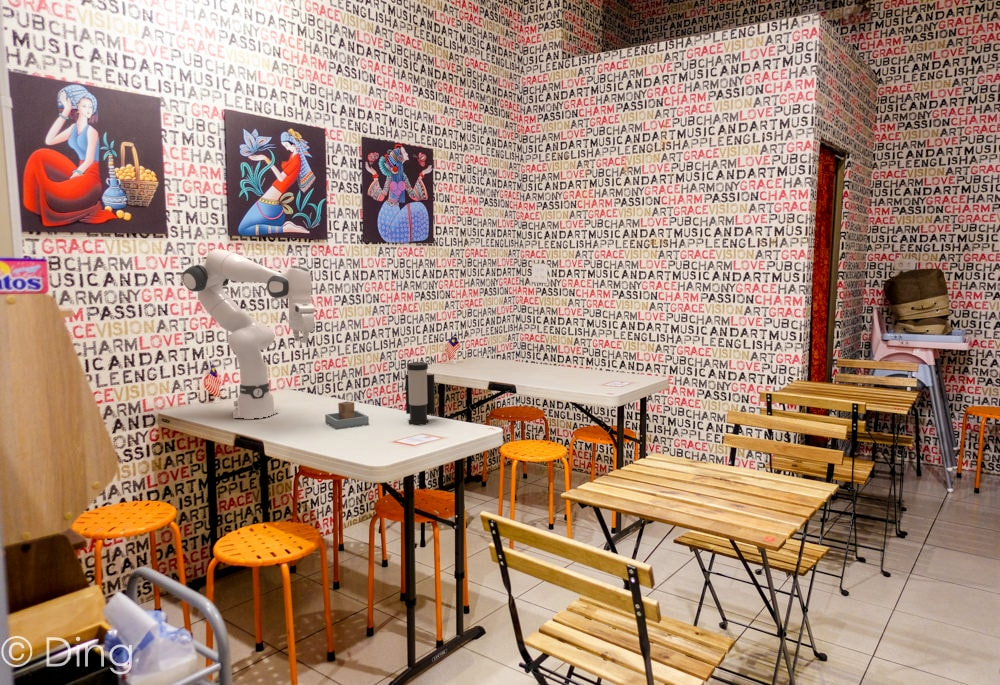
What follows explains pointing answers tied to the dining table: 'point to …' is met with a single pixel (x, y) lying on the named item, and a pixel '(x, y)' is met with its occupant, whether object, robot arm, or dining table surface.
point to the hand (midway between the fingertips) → (300, 342)
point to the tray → (346, 420)
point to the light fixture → (419, 393)
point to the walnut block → (346, 410)
